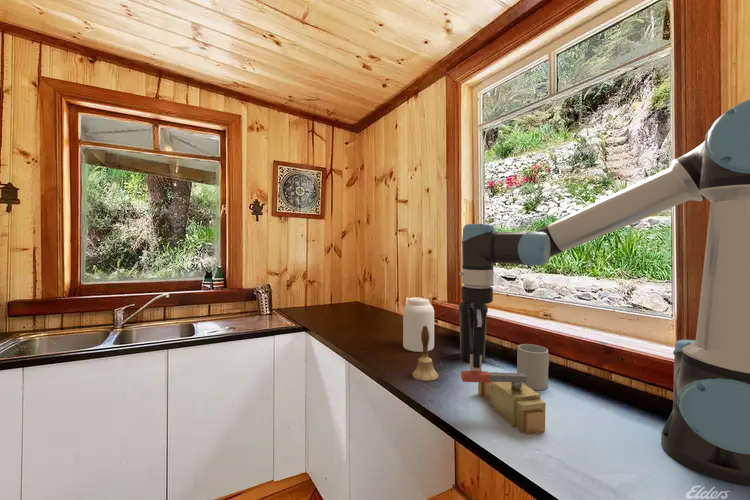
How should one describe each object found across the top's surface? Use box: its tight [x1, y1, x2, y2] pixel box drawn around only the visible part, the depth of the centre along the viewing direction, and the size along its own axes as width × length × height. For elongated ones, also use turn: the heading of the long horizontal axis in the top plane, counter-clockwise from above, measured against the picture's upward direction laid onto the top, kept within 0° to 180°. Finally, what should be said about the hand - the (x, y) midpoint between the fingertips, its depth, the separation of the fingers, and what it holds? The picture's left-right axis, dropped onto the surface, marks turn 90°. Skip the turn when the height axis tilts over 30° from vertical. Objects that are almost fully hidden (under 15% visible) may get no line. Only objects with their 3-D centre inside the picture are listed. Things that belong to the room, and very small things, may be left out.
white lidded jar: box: [402, 297, 435, 353], centre depth 133 cm, size 12×12×20 cm
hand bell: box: [411, 326, 439, 382], centre depth 105 cm, size 8×8×16 cm
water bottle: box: [458, 300, 489, 364], centre depth 119 cm, size 10×10×23 cm
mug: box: [516, 343, 550, 391], centre depth 100 cm, size 12×8×11 cm
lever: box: [460, 370, 527, 391], centre depth 81 cm, size 15×2×4 cm, turn 86°
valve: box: [477, 371, 547, 435], centre depth 84 cm, size 20×7×7 cm, turn 12°
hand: (475, 378), depth 83 cm, fingers closed
